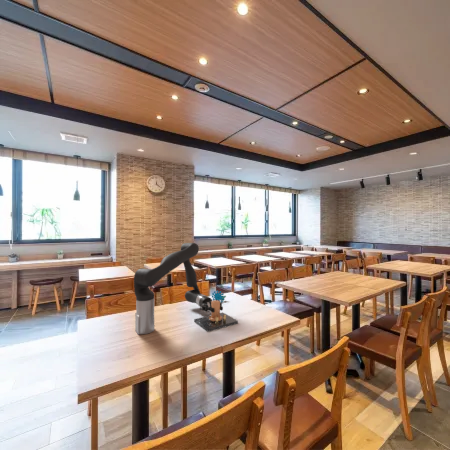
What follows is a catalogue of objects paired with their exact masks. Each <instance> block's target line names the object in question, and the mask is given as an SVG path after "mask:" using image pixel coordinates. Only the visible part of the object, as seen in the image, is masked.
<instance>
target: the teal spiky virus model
mask: <svg viewBox="0 0 450 450" xmlns="http://www.w3.org/2000/svg"><path fill="white" fill-rule="evenodd" d="M226 297H227V296H226V295H224V293H222V291H221V290H220V291H219V290H215V291H213V292H212V293H211V299H212V301H213V300H218V301H220V302H221V303H222V304H223V303H224V301H225V299H226Z"/></svg>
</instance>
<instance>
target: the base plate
mask: <svg viewBox="0 0 450 450" xmlns="http://www.w3.org/2000/svg"><path fill="white" fill-rule="evenodd" d="M220 315H221V316H222V320H221V321H218V317H216V321H211V320H209V316H211V314H210V315H206V316H202V317H198V318H194V319H193V321H194V322H193V323H194V324H196V325H197V326H199V327H200V328H202V329H203V330H204V331H205V332H207V333H210V332H212V331H216V330H221V329H222V328H226V327H230V326H234V325H236V324H237V325H238V324H239V320H238V319H235V318H234V317H232V316H230V315H228V314H226V313H225V312H223V311H222V312H220Z"/></svg>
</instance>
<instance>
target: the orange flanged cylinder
mask: <svg viewBox="0 0 450 450" xmlns="http://www.w3.org/2000/svg"><path fill="white" fill-rule="evenodd" d="M220 302H221V300H220V301H218V300H213V299H212V301H211V307H212V308H214V312H211V311H210V313H211V314H210V315H211V316H210V315H208V316H209V320H211V321H216V317H218V321H221V320H222V316H221V315H220V313H221V310H220Z"/></svg>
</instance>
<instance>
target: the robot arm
mask: <svg viewBox="0 0 450 450" xmlns="http://www.w3.org/2000/svg"><path fill="white" fill-rule="evenodd" d="M199 249H200V248H199V245H198V244H197V243H195V242H185V243H183V244H181V246H180V250H177V251H175V252H172V253H169V254H168V255H166V256H164V257H163V258H162V259H161V261H160V264H159V265H158V266H156V267H154V268H139V269H137V270H136V271H135V273H134V276H133V288H134V296H135V300H136V303H135V306H136V307H135V311H136V312H135V314H134V315H135V318H134V319H135V321H134V322H135V329H134V331H135V332H136V334H137V335H148V334H150V333H152V332H154V331H155V293H154V291H152V289H150V287H153V286H154V285H156V284H158V282H159V281H161V279H163V278H164V277H165V276H166V275H167V274H169V273H170V272H172V271H173V270H175V269H176V268H178V267H179V266H181V265H182V264H183V266H184V267H183V268H184V271H185V280H186V286H187V287H188V288H193V289H190V290H187V291H185V293H184V298H185V300H186V301H187V302H189V303H192V304H196V305H198V307H199V310H200V311H204V312H210V313H211V312H214V308H212V307H211V301H213V298H212V297H209V296H208V295H205V294H203V293H202V292H201V290H200V288H199V286H198V285H199V284H198V281H197V280H198V279H197V273H196V271H195V268H194V267H193V265H192V263H191V261H190V259H192V258H193V257H196V255H197V254H198V253H199ZM223 310H224V307H223V302H222V303H221V301H220V312H221V311H222V312H223Z"/></svg>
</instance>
